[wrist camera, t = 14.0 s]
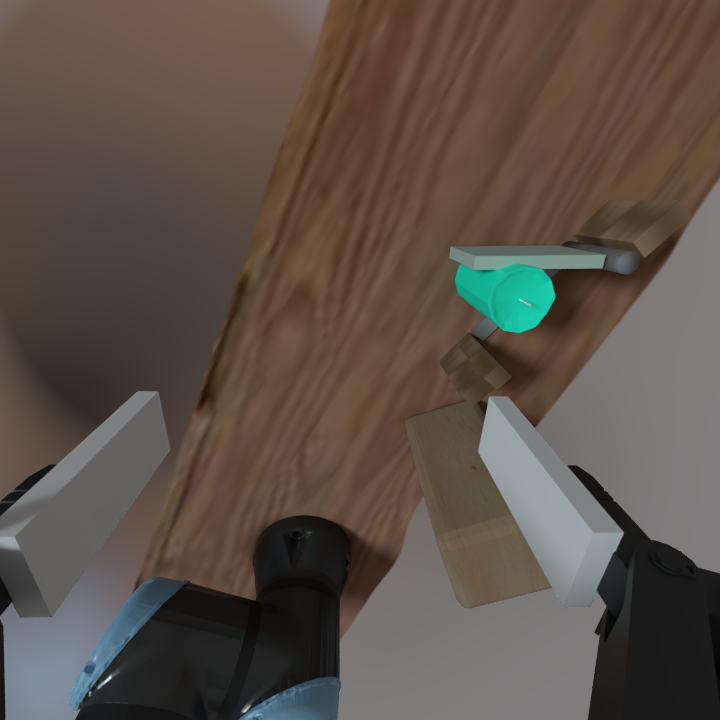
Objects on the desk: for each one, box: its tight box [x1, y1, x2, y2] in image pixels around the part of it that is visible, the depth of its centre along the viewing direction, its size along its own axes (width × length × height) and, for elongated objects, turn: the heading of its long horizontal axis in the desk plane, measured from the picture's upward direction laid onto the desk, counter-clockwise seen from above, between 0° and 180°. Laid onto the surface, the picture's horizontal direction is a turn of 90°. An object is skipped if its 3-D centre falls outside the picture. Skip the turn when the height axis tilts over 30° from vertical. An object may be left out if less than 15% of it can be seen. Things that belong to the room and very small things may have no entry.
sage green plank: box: [450, 246, 606, 270], centre depth 36 cm, size 12×1×8 cm, turn 90°
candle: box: [455, 263, 555, 333], centre depth 36 cm, size 6×6×12 cm
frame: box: [439, 200, 691, 407], centre depth 38 cm, size 25×2×10 cm, turn 138°
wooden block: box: [405, 401, 552, 608], centre depth 41 cm, size 10×10×20 cm
